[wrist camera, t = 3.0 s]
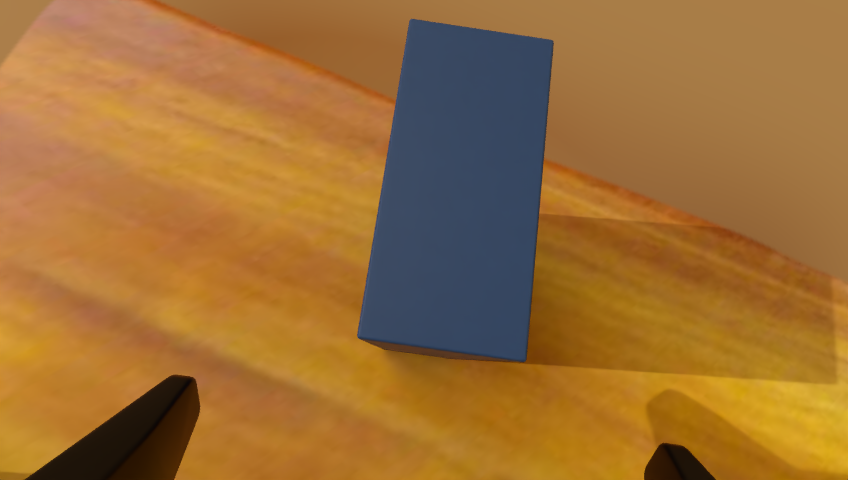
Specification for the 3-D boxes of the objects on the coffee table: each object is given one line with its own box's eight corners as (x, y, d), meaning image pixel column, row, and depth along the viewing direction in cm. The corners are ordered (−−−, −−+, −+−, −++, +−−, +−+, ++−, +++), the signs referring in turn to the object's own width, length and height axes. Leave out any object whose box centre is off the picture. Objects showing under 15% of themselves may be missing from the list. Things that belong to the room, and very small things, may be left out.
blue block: (470, 212, 22) (554, 39, 10) (452, 358, 21) (526, 362, 9) (404, 202, 22) (409, 17, 10) (382, 348, 21) (356, 338, 9)
